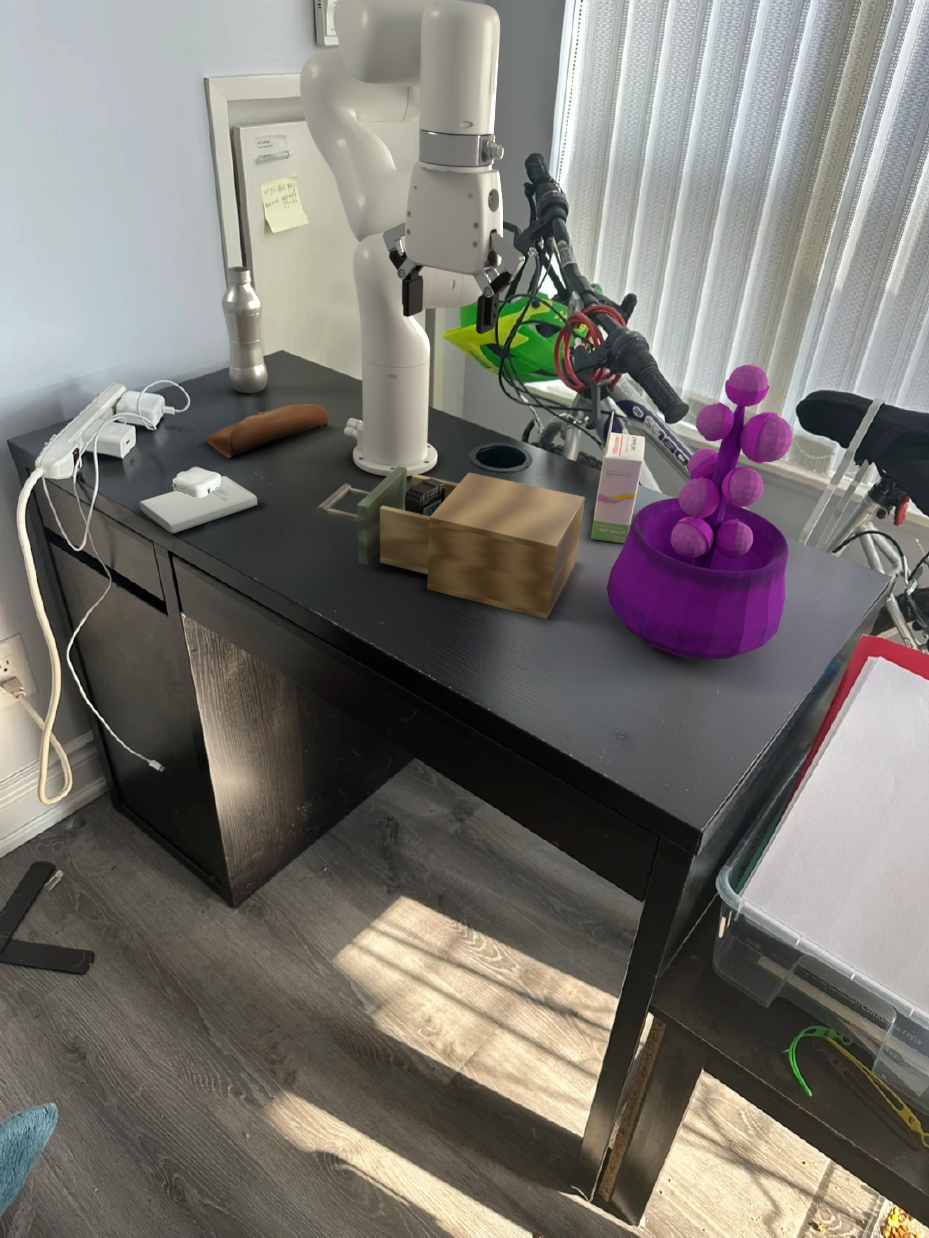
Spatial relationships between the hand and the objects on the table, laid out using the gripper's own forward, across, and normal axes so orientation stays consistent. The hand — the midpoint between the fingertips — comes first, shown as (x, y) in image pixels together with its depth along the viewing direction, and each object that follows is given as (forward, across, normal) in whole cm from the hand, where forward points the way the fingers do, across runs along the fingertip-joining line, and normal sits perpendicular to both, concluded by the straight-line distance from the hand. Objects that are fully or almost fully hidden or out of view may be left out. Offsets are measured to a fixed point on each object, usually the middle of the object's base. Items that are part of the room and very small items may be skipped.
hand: (448, 322), depth 95 cm
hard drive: (+26, +28, +15) cm, 41 cm away
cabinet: (+26, -13, +6) cm, 30 cm away
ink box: (+26, -19, -13) cm, 35 cm away
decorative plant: (+26, -35, +4) cm, 44 cm away
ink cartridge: (+24, -3, +8) cm, 26 cm away
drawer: (+25, 0, +9) cm, 27 cm away
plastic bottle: (+26, +52, -21) cm, 62 cm away
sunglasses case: (+26, +37, -8) cm, 46 cm away
